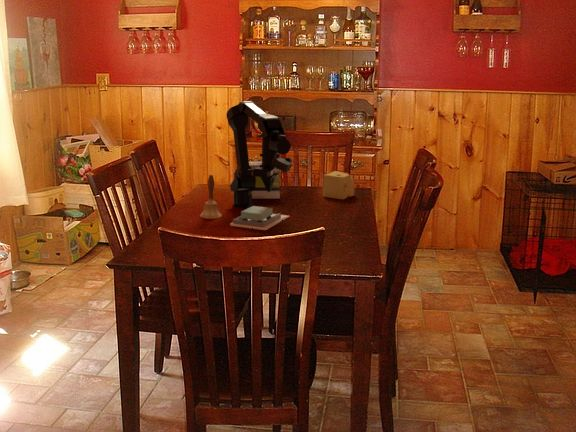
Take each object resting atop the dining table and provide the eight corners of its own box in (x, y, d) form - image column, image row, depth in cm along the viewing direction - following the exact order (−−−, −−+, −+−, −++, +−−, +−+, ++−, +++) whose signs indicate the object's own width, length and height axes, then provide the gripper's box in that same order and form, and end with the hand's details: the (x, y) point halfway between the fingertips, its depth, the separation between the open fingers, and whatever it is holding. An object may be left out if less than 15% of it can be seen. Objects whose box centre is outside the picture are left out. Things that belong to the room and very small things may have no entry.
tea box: (279, 194, 305) (279, 161, 301) (279, 199, 295) (280, 165, 292) (244, 194, 304) (245, 160, 301) (244, 199, 295) (244, 164, 291)
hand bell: (225, 214, 268) (225, 174, 264) (216, 219, 260) (215, 177, 256) (205, 212, 270) (205, 172, 266) (196, 217, 262) (195, 176, 259)
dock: (230, 225, 252) (230, 219, 252) (256, 212, 272) (256, 206, 271) (265, 230, 247) (265, 223, 246) (289, 216, 267) (289, 210, 266)
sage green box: (241, 223, 252) (241, 211, 251) (252, 217, 261) (252, 205, 260) (261, 226, 249) (261, 214, 248) (272, 219, 258) (272, 208, 257)
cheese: (354, 195, 305) (355, 173, 303) (342, 200, 296) (343, 177, 294) (333, 192, 310) (334, 170, 308) (321, 197, 302) (322, 174, 299)
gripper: (279, 155, 248) (278, 198, 252) (298, 149, 265) (298, 189, 268) (251, 153, 252) (251, 195, 256) (272, 146, 269) (271, 186, 273)
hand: (269, 191), depth 263 cm, fingers closed
